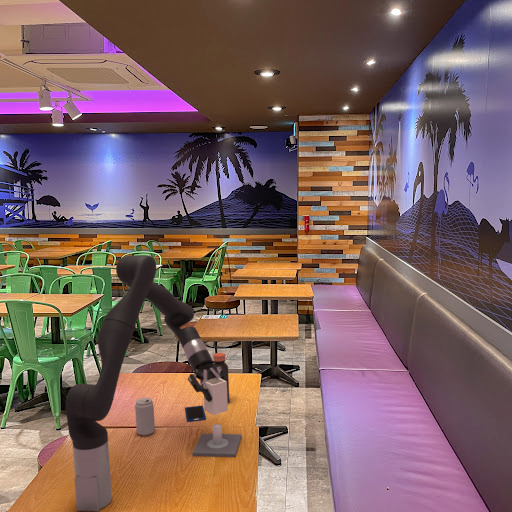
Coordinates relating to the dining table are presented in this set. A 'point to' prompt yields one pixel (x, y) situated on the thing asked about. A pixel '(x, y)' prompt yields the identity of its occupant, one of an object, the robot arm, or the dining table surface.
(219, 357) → the bottle
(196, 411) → the cell phone
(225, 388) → the sleeve
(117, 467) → the dining table surface
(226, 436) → the post plate
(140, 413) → the beverage can
